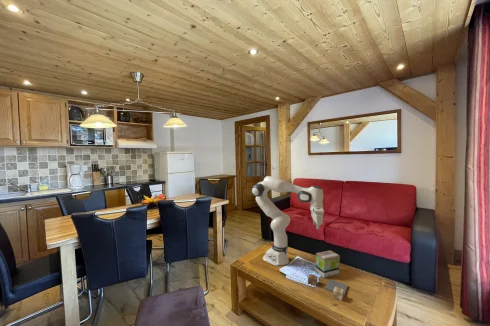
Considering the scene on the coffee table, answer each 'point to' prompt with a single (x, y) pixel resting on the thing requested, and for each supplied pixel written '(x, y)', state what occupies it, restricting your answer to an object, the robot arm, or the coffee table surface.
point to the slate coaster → (333, 284)
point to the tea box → (327, 263)
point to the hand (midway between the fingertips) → (316, 226)
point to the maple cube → (338, 293)
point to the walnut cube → (312, 279)
